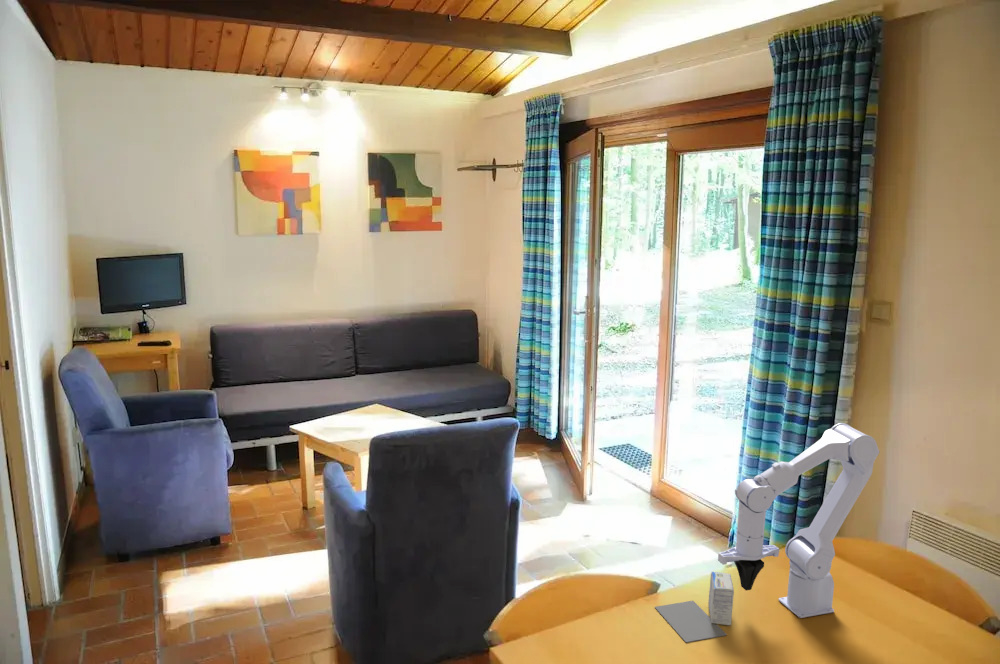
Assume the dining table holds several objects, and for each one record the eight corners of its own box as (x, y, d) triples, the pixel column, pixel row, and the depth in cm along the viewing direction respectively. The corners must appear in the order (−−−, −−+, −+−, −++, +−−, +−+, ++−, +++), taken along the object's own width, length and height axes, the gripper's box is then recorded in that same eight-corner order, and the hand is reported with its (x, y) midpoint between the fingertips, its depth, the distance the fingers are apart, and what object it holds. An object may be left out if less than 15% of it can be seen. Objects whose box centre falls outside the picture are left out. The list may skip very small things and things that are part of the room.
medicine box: (731, 626, 163) (734, 590, 161) (710, 623, 163) (713, 587, 162) (727, 607, 170) (731, 573, 169) (707, 604, 171) (710, 570, 170)
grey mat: (693, 601, 173) (693, 600, 173) (726, 635, 160) (726, 634, 160) (654, 607, 170) (654, 606, 170) (685, 642, 157) (685, 641, 157)
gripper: (767, 521, 171) (762, 574, 173) (712, 528, 167) (708, 583, 169) (786, 534, 164) (781, 590, 167) (730, 542, 160) (725, 599, 163)
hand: (746, 587), depth 168 cm, fingers closed
